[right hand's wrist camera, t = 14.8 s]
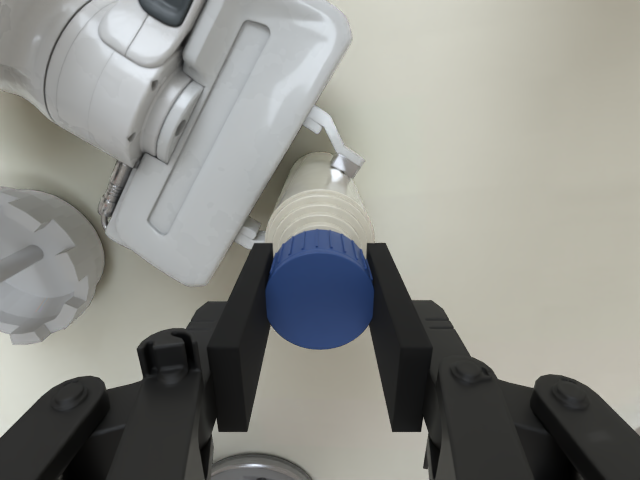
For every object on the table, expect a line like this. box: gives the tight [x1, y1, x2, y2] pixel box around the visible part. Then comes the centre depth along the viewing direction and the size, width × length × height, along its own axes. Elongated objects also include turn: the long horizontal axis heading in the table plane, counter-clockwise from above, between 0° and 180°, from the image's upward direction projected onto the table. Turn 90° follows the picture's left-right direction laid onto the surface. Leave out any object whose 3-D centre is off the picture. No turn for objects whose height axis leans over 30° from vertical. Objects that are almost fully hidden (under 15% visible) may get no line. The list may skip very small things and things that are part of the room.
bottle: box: [265, 152, 375, 259], centre depth 22 cm, size 6×6×19 cm
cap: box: [265, 229, 374, 350], centre depth 14 cm, size 4×4×2 cm
